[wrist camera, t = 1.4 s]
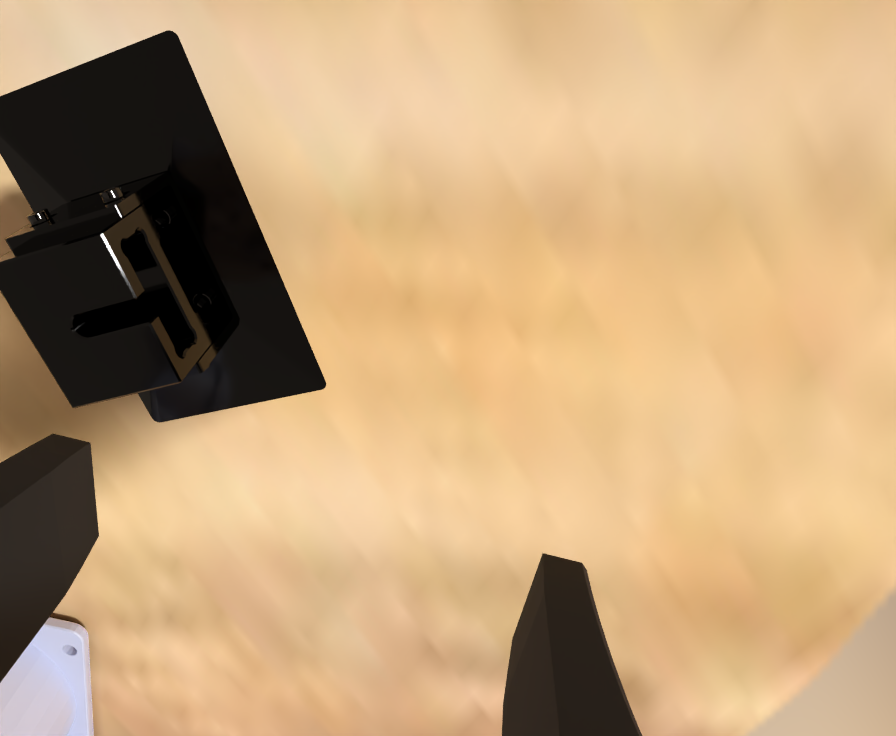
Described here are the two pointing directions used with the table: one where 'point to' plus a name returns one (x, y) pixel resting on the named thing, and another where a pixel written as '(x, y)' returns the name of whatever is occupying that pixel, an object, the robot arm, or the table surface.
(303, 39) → the table surface
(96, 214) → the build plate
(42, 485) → the robot arm
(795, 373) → the table surface
